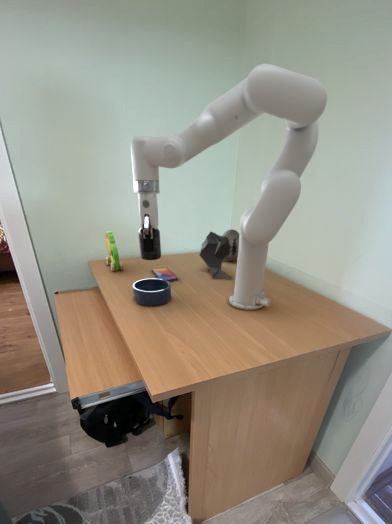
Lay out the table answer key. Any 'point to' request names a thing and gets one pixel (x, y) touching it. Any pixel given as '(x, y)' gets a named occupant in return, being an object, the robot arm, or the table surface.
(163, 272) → the smartphone
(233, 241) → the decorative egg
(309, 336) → the table surface
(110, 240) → the green toy figure
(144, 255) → the supplement bottle
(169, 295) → the bowl
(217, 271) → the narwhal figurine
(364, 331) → the table surface
